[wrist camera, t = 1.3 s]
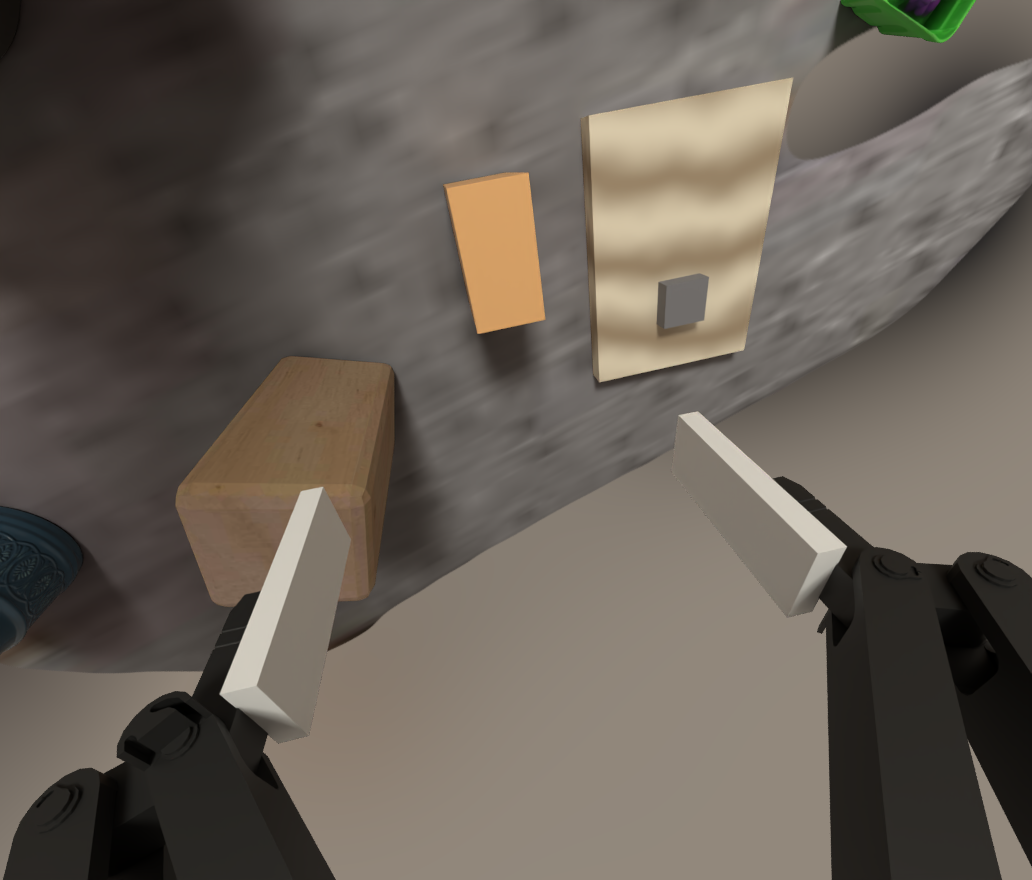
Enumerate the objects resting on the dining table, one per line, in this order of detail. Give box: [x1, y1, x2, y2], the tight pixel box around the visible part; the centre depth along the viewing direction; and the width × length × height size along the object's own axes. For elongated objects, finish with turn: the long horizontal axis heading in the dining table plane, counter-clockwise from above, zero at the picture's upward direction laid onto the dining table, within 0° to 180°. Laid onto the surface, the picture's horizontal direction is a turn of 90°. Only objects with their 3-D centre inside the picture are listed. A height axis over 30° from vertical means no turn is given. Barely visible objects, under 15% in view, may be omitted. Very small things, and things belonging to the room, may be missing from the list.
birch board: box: [581, 78, 793, 382], centre depth 37 cm, size 22×16×2 cm
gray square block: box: [656, 273, 709, 329], centre depth 38 cm, size 4×4×2 cm
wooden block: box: [175, 356, 395, 607], centre depth 32 cm, size 10×10×20 cm
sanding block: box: [443, 173, 545, 334], centre depth 31 cm, size 9×5×10 cm, turn 9°
